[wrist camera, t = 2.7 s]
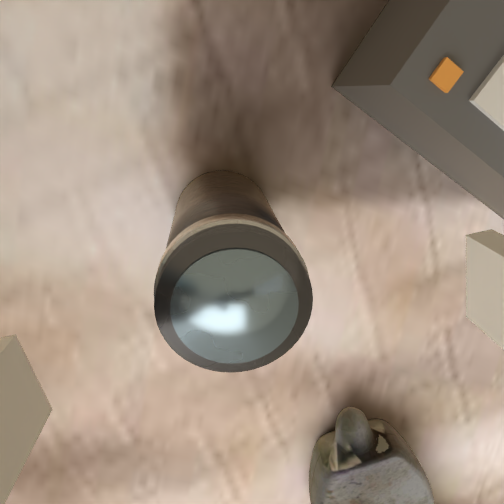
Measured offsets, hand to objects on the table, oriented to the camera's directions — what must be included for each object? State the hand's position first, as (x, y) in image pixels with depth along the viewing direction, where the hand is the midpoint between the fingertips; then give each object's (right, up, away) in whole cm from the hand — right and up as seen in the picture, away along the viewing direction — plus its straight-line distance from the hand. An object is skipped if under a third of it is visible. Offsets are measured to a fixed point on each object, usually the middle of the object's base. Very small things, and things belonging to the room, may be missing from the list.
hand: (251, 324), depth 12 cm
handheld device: (+8, -16, +20) cm, 27 cm away
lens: (-2, +4, +10) cm, 11 cm away
